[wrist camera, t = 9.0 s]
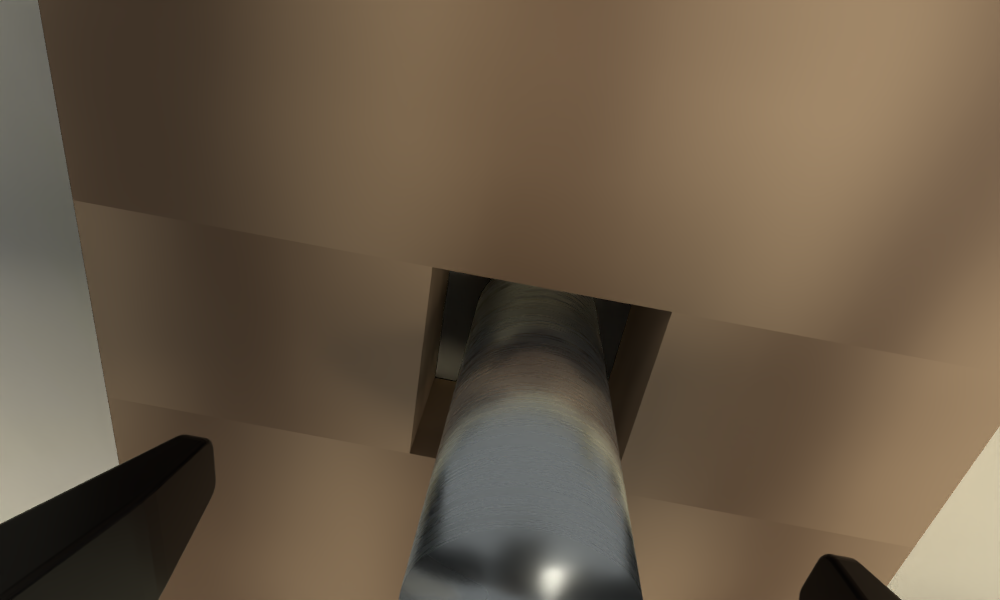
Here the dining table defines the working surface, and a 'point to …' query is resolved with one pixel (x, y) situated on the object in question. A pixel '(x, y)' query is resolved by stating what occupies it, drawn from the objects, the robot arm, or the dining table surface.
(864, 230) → the socket block
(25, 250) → the dining table surface
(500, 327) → the peg
